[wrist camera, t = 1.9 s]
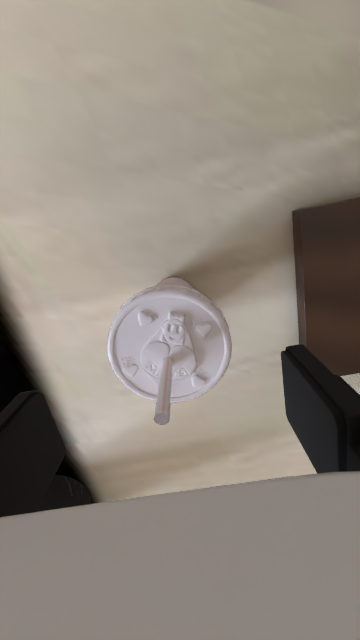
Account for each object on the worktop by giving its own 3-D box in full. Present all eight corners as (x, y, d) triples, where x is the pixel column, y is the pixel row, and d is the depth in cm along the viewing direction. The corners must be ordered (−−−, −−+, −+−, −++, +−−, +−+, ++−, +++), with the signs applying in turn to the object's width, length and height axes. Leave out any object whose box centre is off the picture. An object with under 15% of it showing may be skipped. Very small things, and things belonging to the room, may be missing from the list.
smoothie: (130, 327, 24) (68, 460, 11) (141, 253, 22) (79, 304, 9) (203, 340, 24) (230, 484, 11) (220, 268, 22) (279, 340, 9)
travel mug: (69, 531, 33) (-84, 956, 14) (11, 499, 31) (-253, 937, 12) (108, 496, 31) (-8, 935, 12) (49, 460, 29) (-195, 908, 10)
